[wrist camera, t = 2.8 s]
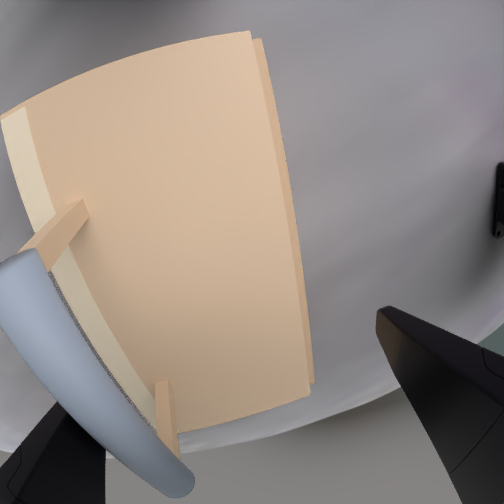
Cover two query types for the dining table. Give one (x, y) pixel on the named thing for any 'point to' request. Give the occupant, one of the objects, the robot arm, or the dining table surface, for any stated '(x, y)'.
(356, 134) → the dining table surface
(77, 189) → the flap
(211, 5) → the dining table surface
